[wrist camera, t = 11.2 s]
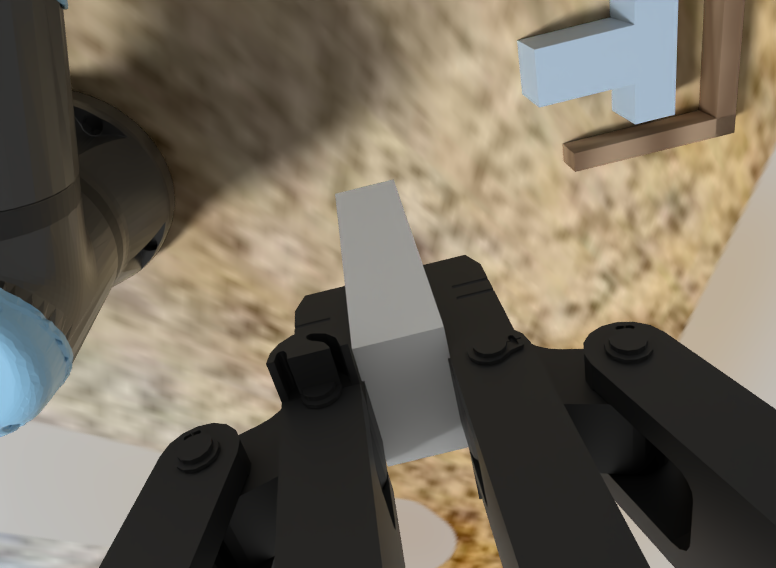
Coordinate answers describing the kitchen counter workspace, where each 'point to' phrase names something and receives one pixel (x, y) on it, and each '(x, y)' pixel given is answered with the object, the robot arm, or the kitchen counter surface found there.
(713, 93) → the bay
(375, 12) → the kitchen counter surface
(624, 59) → the blue t-shaped block
